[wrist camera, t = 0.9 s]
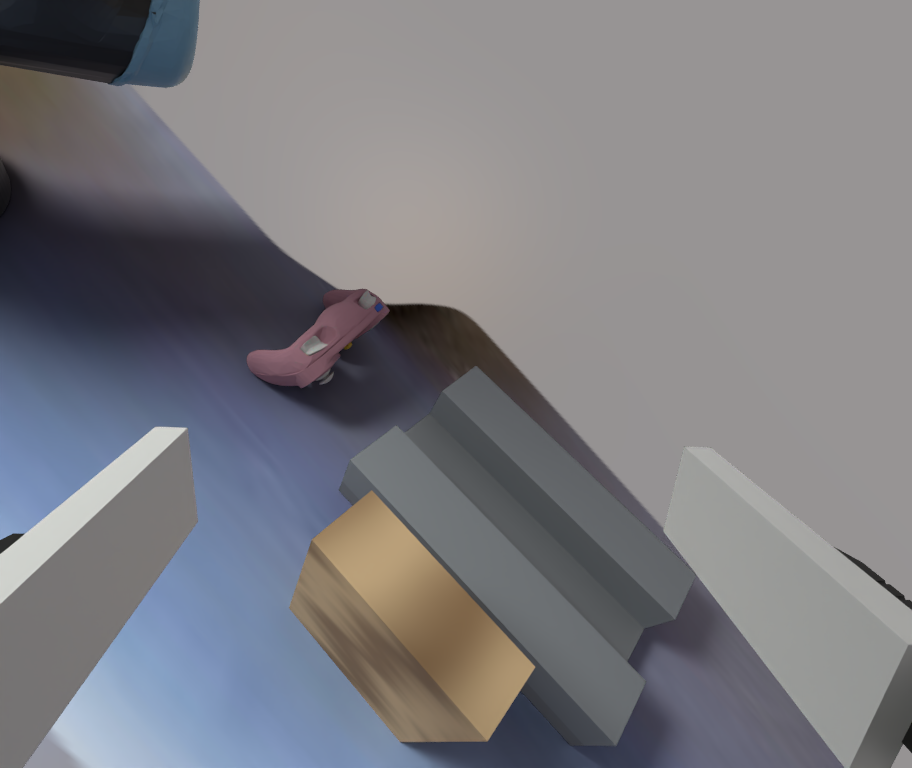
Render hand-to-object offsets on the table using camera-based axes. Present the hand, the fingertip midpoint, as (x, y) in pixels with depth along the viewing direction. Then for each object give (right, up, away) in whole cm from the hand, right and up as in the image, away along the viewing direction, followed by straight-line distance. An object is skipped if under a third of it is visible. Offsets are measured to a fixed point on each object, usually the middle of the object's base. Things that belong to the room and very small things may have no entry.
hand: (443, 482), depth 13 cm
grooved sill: (+4, -8, +20) cm, 22 cm away
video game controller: (-10, +5, +24) cm, 27 cm away
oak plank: (-5, -12, +14) cm, 19 cm away
